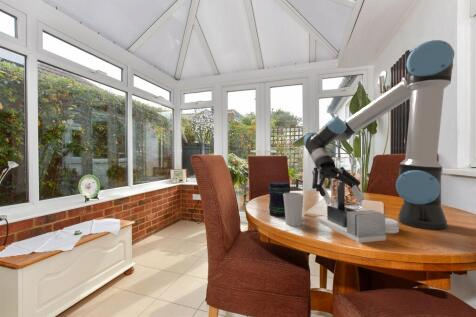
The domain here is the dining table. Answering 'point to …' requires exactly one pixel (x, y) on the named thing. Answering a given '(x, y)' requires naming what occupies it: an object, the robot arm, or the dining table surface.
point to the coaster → (391, 226)
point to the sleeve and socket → (358, 221)
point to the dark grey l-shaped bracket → (341, 197)
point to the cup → (293, 208)
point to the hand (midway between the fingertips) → (345, 201)
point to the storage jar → (277, 198)
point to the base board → (344, 231)
